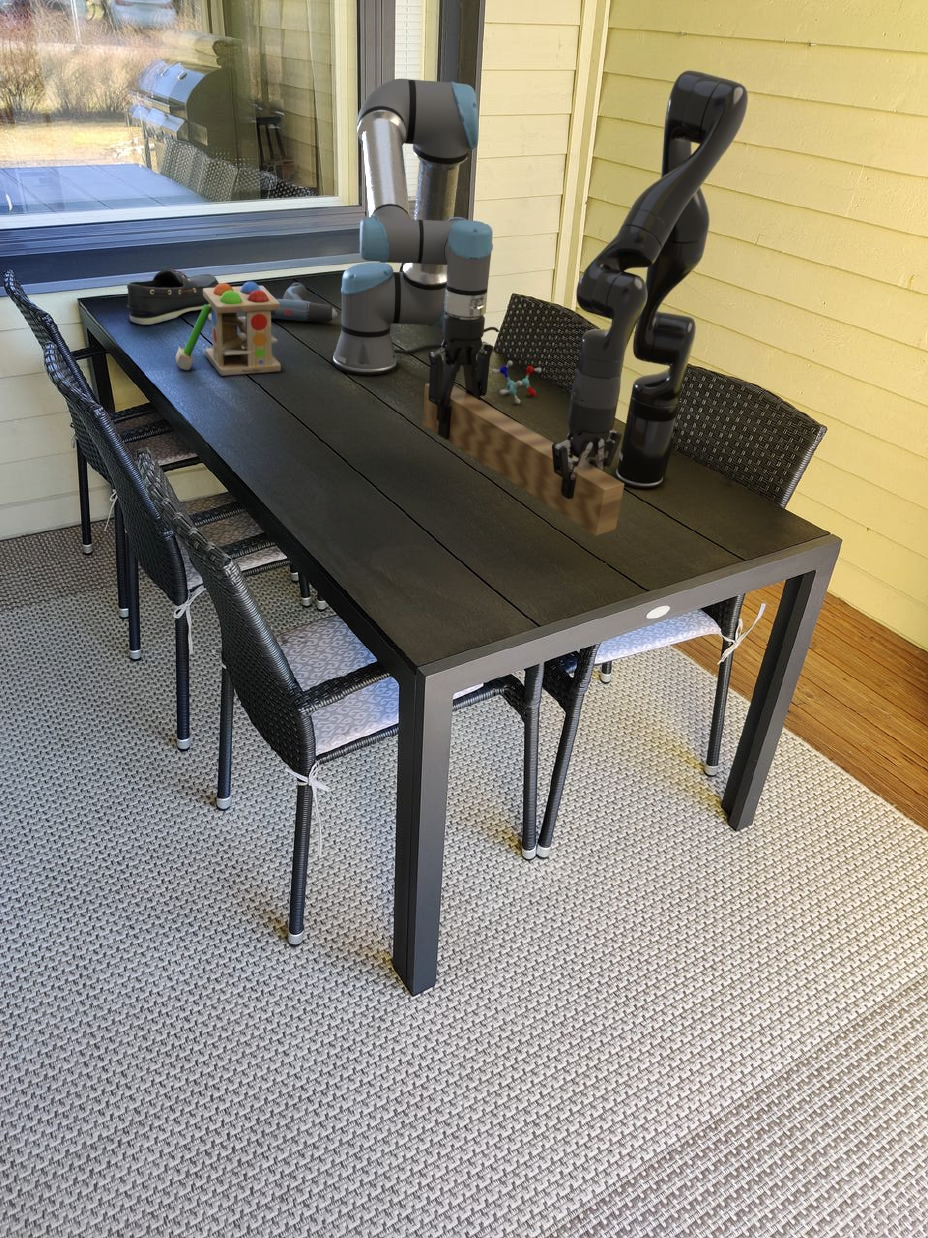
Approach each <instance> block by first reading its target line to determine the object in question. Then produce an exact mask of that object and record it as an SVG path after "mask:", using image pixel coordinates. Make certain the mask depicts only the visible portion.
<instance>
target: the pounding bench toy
mask: <svg viewBox="0 0 928 1238" xmlns="http://www.w3.org/2000/svg"><path fill="white" fill-rule="evenodd" d="M203 296H204V297H205V299H206V300H207V301H208V302H209V304H210V305H211V307H210V306H208V305H204V307H203V309H201V312H200V313H199V316H198V318H197V320H196V322H195V324H194V327H193V329H192V331H191V332H190V333H191V334H190V336H189V338H188V340H187V343H186V344H185V347H184V348H182V347H180V346H179V347H178V349H177V351H176V354H175V357H174V358H175V362H176V365H177V366H178V368H179V369H182V370H185V371H189V370H190V369H191V367H192V365H193V363H194V356H193V351H194V348H195V347H196V345H197V342H198V340H199V337H200V336H201V333H202V332H203V329H204V326H205V325H206V322H207V320H209V321H210V322H211V336H212V337H211V338H212V339H211V340H212V348H205V349H204V352H205V353H204V355H205V357H206V359H208V361H209V363H210V364H211V365H212V366H213V367H214V369H215V370H216V371H217V372H218V374H219V375H220V376H222V377H223V376H234V375H235V376H236V375H246V374H247V375H250V374H262V373H275V372H281V370H282V364H281V363H280V362H279V360H278V359H277V358H276V357H275V356H274V355H273V348H272V347H273V345H272V344H276V343H278V342H279V341H278V339H277V338H276V337H275V336H274V334H272V318H271V310H280V303H279V302H278V301H277V300H276V299H277V298H276V297H274V296H273V295H272V294H271V293H270V292H269V290H268V289H267V288H266V287H264V285H259V284H257V283H256V282H255V281H247V282H245V283H244V284H243V285H242V286H232V285H230V284H229V283H226V282H221V283H219V284H218V285H217V286H216V287H215V288H204V289H203ZM238 313H244V314H245V315H244V316H238ZM238 329H239V331H240V333H239V334H238Z"/></svg>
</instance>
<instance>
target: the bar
mask: <svg viewBox="0 0 928 1238" xmlns="http://www.w3.org/2000/svg"><path fill="white" fill-rule="evenodd" d="M423 397H424V398H423V410H422V413H423V414H422V426H424V428H427V429H428V430H430V431H431V432H433V433H435V434H436V435H438V426H439V421H438V420H437V418H436V416H437V405H435V404H434V403H432V402H430V401H429V399H428V397H429V382H427V383H425V384H424V395H423ZM448 405H449V406H451V407H452V410H451V423H450V436H449V439H447V440H446V441H447V442H449V443H450V444H452V445H453V446H454V447H456V448H458V449H460V450H461V451H463V452H464V453H465V454H467V455H468V456H471V457H472V458H474V459H475V460H477V461H478V462H480V463H482V464H483V465H485V466H486V467H488V468H489V469H491V470H492V471H494V472H496V473H497V474H499V475H500V476H502V477H503V478H505V479H507V480H508V481H509V482H511V483H513V484H514V485H515V486H517V487H519V488H521V489H522V490H523V491H525V492H527V493H528V494H530V495H531V496H533V497H535V498H536V499H538V500H540V502H542V503H544V504H546V505H547V506H549V507H550V508H551V509H553V510H555V511H557V512H558V513H560V514H561V515H563V516H565V518H568V519H569V520H570V521H572V522H574V523H575V524H577V525H578V526H580V527H581V528H583V529H585V530H586V531H588V532H589V533H591V534H593V535H594V536H599V535H603V534H605V533H609V532H611V531H615V530H616V529H617V526H618V525H617V524H618V520H619V514H620V509H621V508H620V507H621V505H622V504H621V503H622V499H623V493H624V488H625V484H624V483H622V482H621V481H619V480H618V479H617V478H616V477H614V476H612V475H611V474H608V473H606V472H605V471H604V470H603V471H601V470H600V469H598V468H596V467H594V466H593V465H591V464H589V463H588V461H586V460H585V463H584V465H583V467H581V468H580V469H579V471H578V474H577V476H576V478H575V479H576V483H575V489H574V496H573V498H572V499H567V498H566V497H564V496H563V495H562V494H561V486H562V479H563V477H561V476H559V475H558V474H556V473H554V468H553V455H552V444H553V443H554V442H553V441H551V440H549V439H547V438H546V437H544V436H542V435H540V434H539V433H537V432H536V431H533V430H532V429H531V428H528V427H526V426H525V425H523V424H521V423H520V422H518V421H516V420H514V419H513V418H511V417H510V416H508V415H506V414H504V413H502V412H500V411H499V410H497V409H496V408H494V407H492V406H490V405H488V404H487V403H485V402H483V401H482V400H481V401H480V400H478V399H476V398H474V397H473V396H471V395H469V394H467V393H466V391H465V390H462V389H461V388H458V387H457V386H455V385H454V386H453V390H452V393H451V397H450V401H449V404H448ZM441 438H442V439H444V438H443V437H441ZM573 458H574V459H576V460H578V459H579V458H577V457H575V456H573ZM572 468H573V465H572V464H571V467H570V469H569V470H570V471H571V470H572Z"/></svg>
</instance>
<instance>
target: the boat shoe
mask: <svg viewBox="0 0 928 1238" xmlns="http://www.w3.org/2000/svg"><path fill="white" fill-rule="evenodd" d="M218 284H220V283H219V281H218V280H217V277H216V276H215V275H213V274H210V273H203V274H197V275H192V276H189V277H188V275H186V274H185V273H184V272H181V271H180V270H177V269H172V268H164V269H162V270H160V271H158V272H157V273H156V274H155V275H154V276H153V278H152V280H151V279H150V280H144V281H130V282H127V284H126V289H127V294H128V295H127V303H128V304H127V305H126V309H127V310H129V320H130V322H132V323H133V324H138V325H154V324H158V323H162V322H165V321H169V320H172V319H176V318H178V317H179V316H181V315H182V314H184V313H187V312H191V311H199V310H202V309H203V307H204V305H208V306H210V307H211V305H210V304H209V302H208V301H207V300H206V299H205V297H204V296H203V289H204V288H215V287H216V286H217V285H218Z"/></svg>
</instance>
